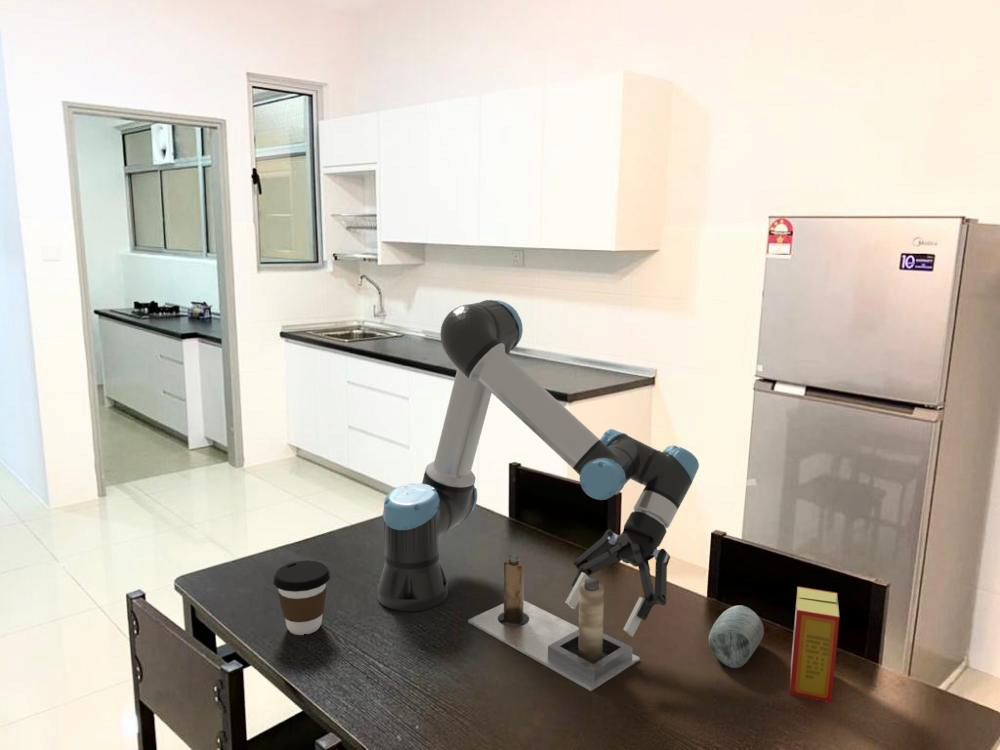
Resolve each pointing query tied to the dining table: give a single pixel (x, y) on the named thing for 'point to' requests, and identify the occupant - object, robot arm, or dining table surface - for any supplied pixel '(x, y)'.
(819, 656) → the baking soda box
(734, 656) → the spool
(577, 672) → the bolt plate
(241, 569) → the dining table surface
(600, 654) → the birch leg peg
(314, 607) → the coffee cup
